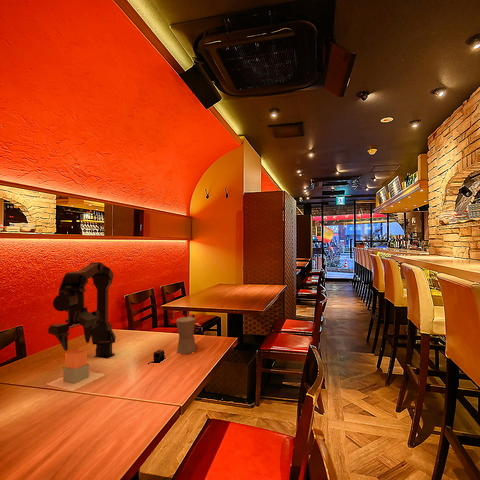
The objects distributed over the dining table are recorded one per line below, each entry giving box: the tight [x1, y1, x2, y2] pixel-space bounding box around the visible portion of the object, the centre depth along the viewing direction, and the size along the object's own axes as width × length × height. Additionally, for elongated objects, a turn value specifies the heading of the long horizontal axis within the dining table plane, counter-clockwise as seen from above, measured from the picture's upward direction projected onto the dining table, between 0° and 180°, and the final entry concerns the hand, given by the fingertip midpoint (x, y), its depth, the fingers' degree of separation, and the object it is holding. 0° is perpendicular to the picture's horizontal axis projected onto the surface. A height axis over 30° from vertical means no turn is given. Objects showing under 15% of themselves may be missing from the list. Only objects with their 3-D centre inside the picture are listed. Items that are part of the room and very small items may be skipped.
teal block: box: [62, 363, 90, 384], centre depth 115 cm, size 6×6×5 cm
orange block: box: [64, 349, 88, 369], centre depth 115 cm, size 5×5×5 cm
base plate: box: [45, 370, 106, 392], centre depth 115 cm, size 14×14×1 cm
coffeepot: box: [175, 312, 197, 355], centre depth 147 cm, size 15×9×18 cm, turn 162°
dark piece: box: [149, 349, 166, 363], centre depth 135 cm, size 12×7×5 cm, turn 162°
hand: (77, 346), depth 117 cm, fingers open, 9 cm apart
